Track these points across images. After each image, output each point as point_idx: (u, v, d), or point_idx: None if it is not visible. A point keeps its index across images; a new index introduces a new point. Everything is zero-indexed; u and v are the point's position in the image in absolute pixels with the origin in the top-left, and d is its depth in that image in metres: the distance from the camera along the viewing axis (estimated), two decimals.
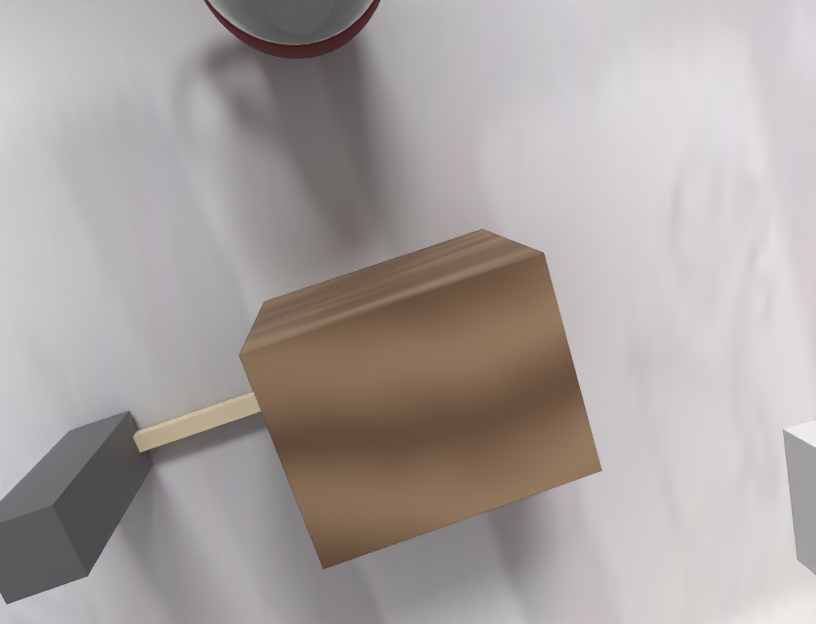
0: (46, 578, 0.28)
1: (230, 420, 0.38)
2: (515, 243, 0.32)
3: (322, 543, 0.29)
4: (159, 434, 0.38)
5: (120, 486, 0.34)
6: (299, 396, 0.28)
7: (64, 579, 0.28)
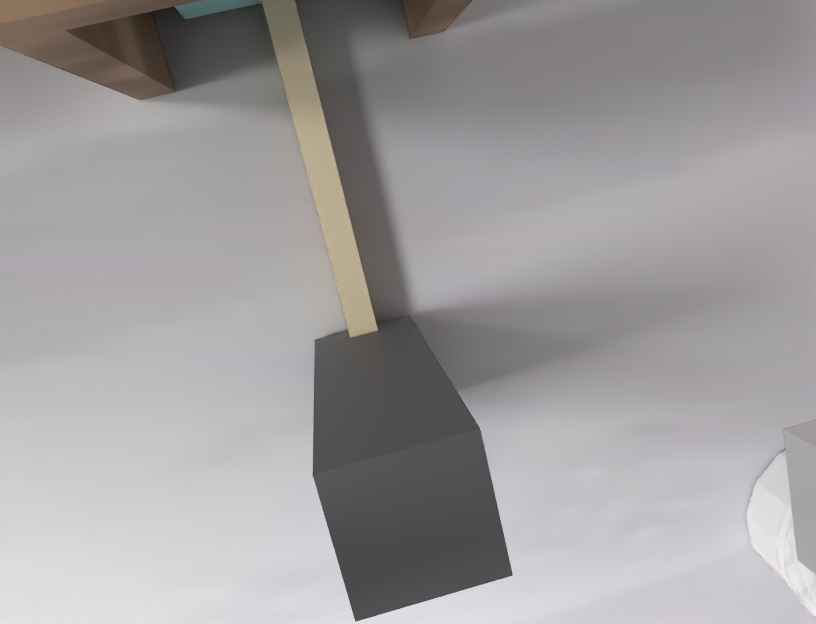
0: (470, 502, 0.14)
1: (337, 178, 0.22)
2: None
3: None
4: (350, 296, 0.23)
5: (394, 359, 0.20)
6: None
7: (480, 471, 0.14)
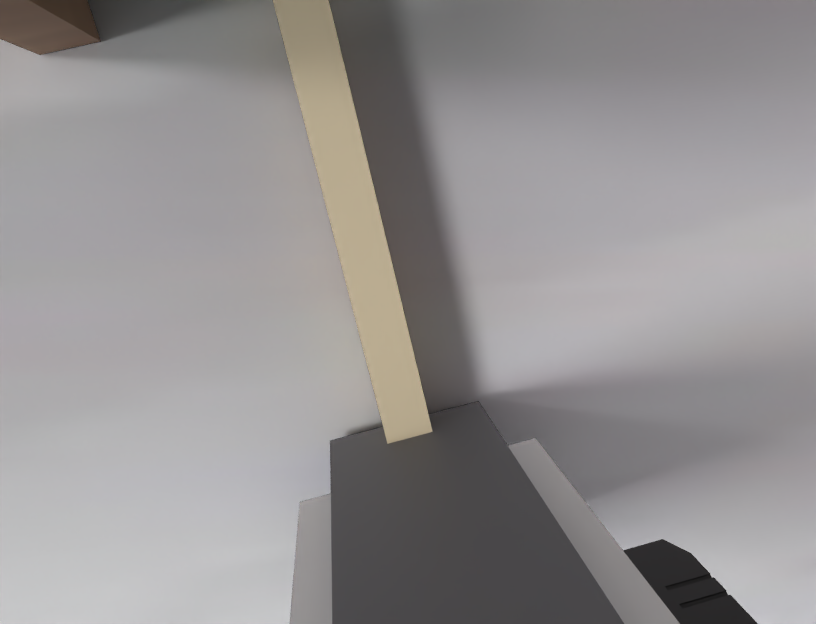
0: None
1: (369, 186, 0.13)
2: None
3: None
4: (388, 379, 0.14)
5: (478, 522, 0.11)
6: None
7: None
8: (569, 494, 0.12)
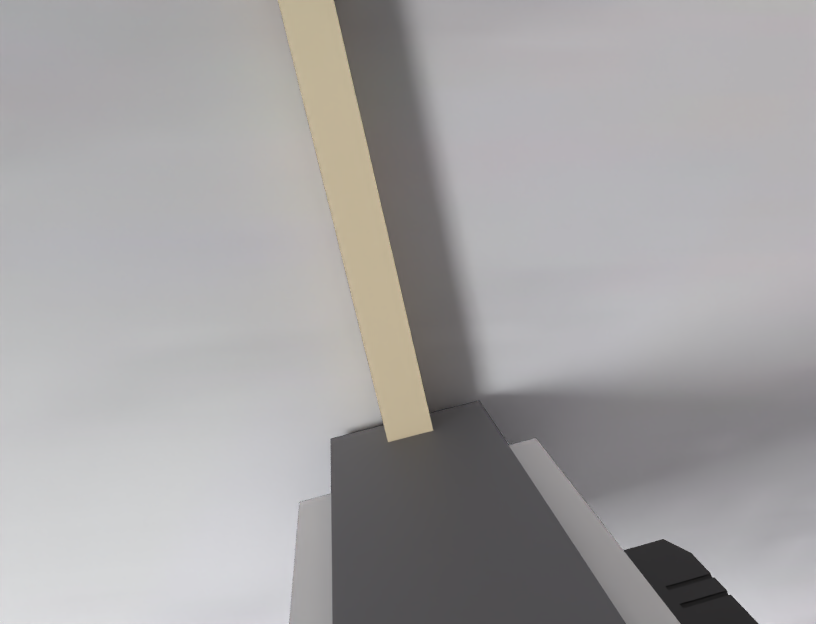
0: None
1: (372, 183, 0.13)
2: None
3: None
4: (389, 377, 0.14)
5: (480, 520, 0.11)
6: None
7: None
8: (570, 494, 0.12)
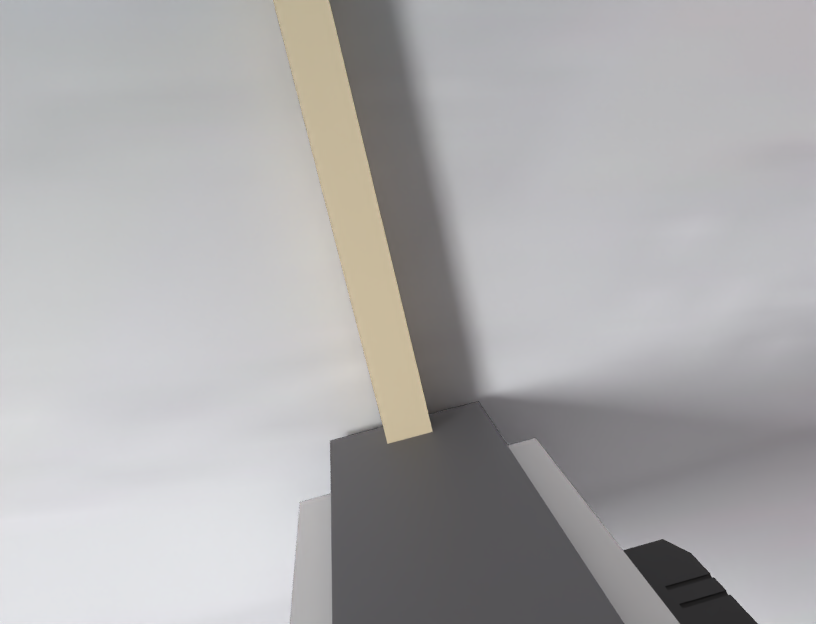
0: None
1: (369, 185, 0.13)
2: None
3: None
4: (388, 378, 0.14)
5: (479, 522, 0.11)
6: None
7: None
8: (569, 494, 0.12)
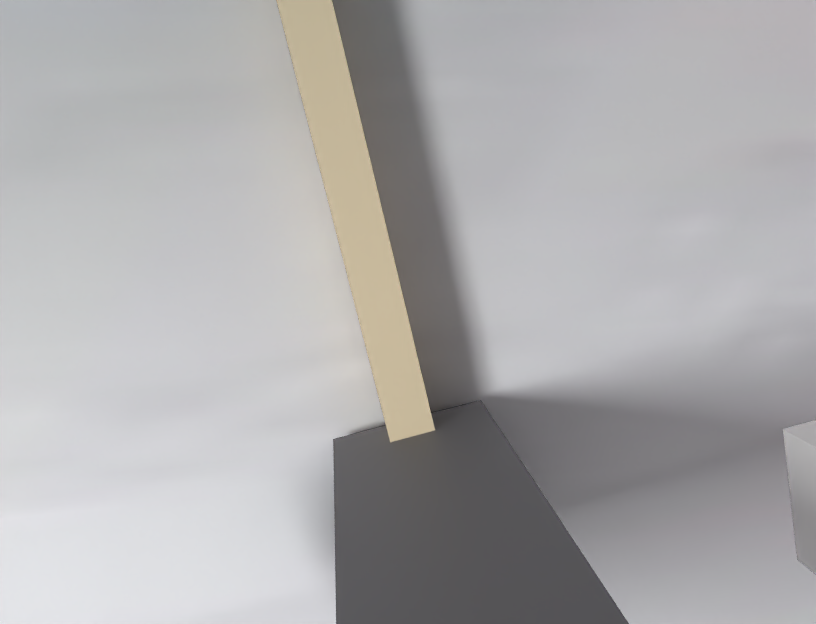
0: None
1: (372, 186, 0.13)
2: None
3: None
4: (391, 377, 0.14)
5: (481, 519, 0.11)
6: None
7: None
8: None
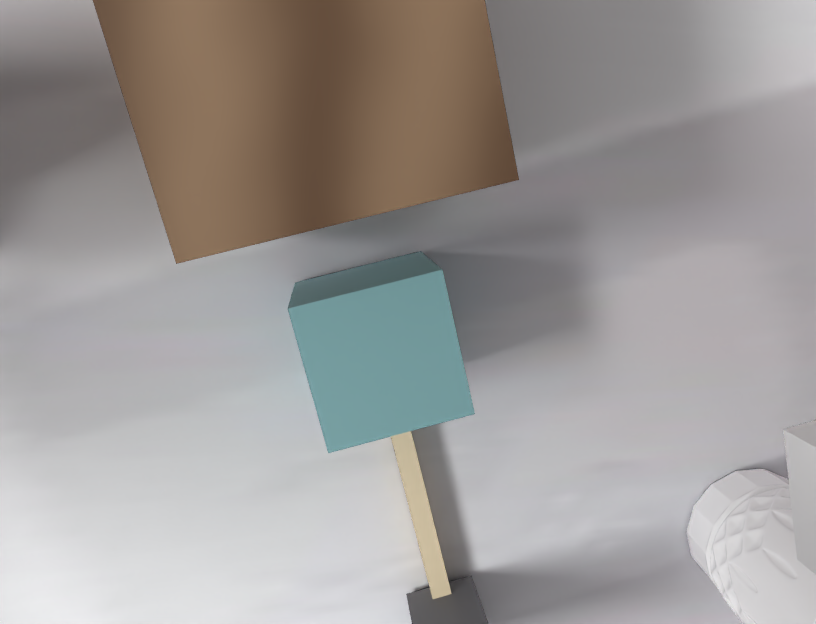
0: None
1: (426, 501, 0.33)
2: None
3: (478, 176, 0.20)
4: (433, 573, 0.34)
5: None
6: (243, 184, 0.19)
7: None
8: None
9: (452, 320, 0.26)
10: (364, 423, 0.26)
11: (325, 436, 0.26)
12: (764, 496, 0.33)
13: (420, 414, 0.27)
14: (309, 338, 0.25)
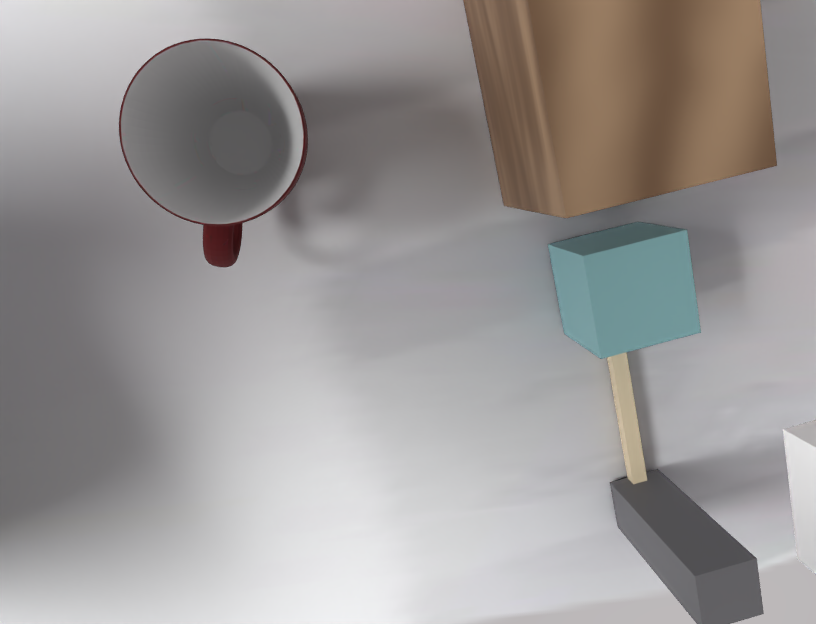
0: (750, 585, 0.36)
1: (634, 408, 0.44)
2: None
3: (752, 163, 0.31)
4: (635, 464, 0.45)
5: (678, 507, 0.42)
6: (611, 168, 0.31)
7: (754, 574, 0.36)
8: None
9: (690, 265, 0.37)
10: (626, 338, 0.38)
11: (600, 346, 0.38)
12: None
13: (664, 332, 0.38)
14: (595, 277, 0.37)
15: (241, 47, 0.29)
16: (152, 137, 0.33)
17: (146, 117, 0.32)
